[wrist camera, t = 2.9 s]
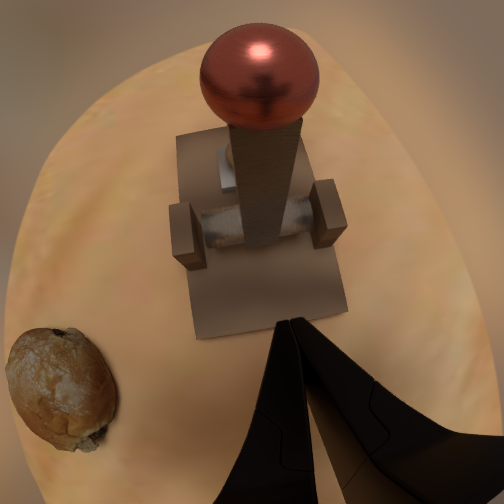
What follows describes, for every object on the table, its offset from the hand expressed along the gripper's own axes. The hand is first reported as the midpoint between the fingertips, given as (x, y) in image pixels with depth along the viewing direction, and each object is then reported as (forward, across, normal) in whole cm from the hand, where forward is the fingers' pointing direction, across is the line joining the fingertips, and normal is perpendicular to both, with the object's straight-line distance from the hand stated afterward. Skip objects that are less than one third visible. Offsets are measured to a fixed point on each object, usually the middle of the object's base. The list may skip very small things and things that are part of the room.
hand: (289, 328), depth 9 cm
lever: (+10, 0, 0) cm, 10 cm away
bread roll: (+6, +17, +10) cm, 21 cm away
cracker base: (+13, 0, +2) cm, 13 cm away
